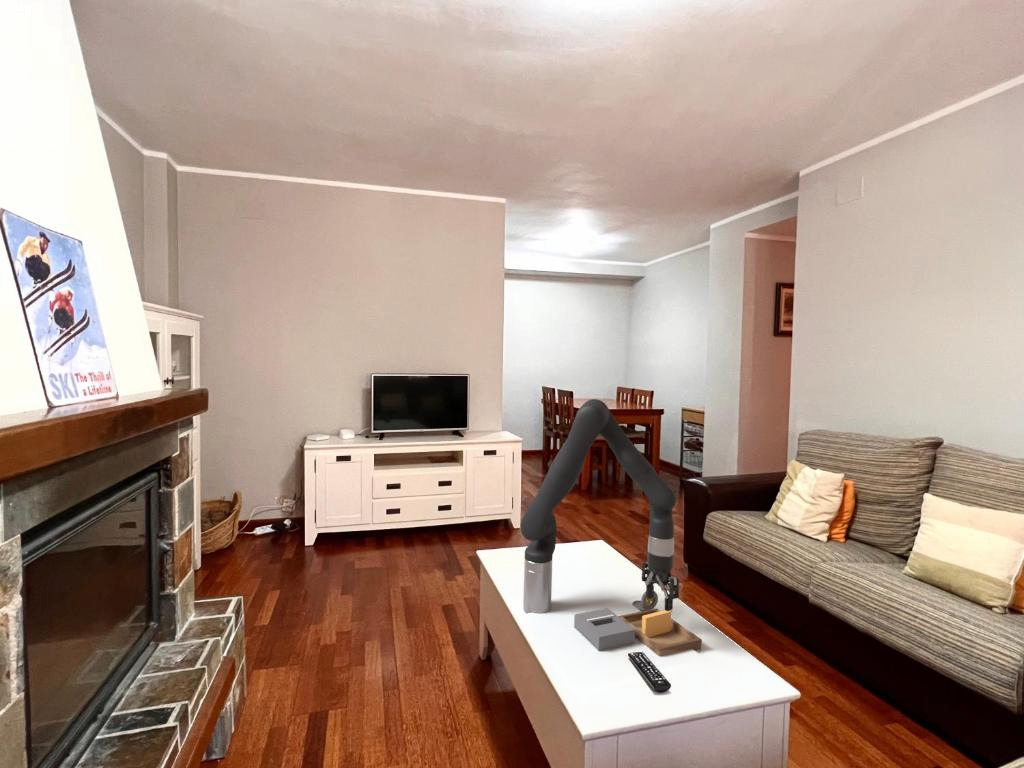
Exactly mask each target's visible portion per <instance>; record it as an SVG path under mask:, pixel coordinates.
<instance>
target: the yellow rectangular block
mask: <svg viewBox="0 0 1024 768" xmlns="http://www.w3.org/2000/svg"><path fill="white" fill-rule="evenodd" d="M671 618H672V610H671V611H666V610H665V609H663V610H660V611H659V612H655V613H652V614H648V615H644V616H642V633H643V634H645V635H646V636H647V637H651V636H655V635H659V634H662V633H666V632H669V631H671Z"/></svg>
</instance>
